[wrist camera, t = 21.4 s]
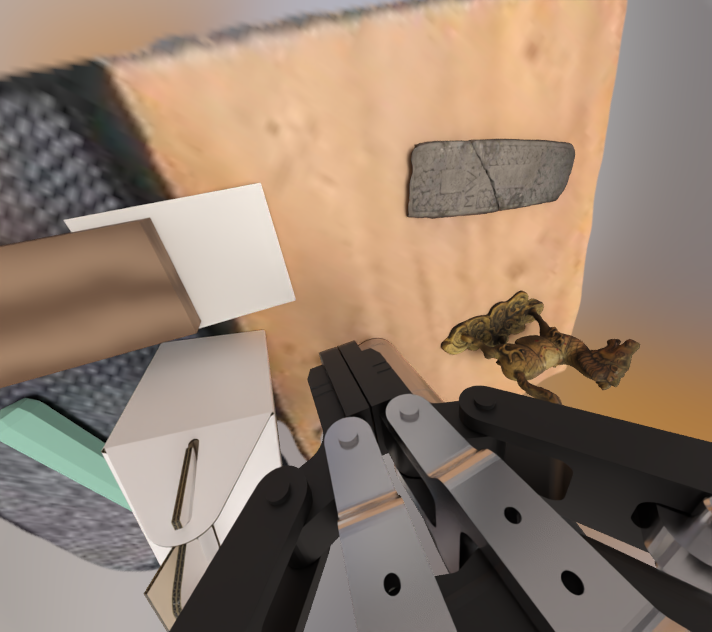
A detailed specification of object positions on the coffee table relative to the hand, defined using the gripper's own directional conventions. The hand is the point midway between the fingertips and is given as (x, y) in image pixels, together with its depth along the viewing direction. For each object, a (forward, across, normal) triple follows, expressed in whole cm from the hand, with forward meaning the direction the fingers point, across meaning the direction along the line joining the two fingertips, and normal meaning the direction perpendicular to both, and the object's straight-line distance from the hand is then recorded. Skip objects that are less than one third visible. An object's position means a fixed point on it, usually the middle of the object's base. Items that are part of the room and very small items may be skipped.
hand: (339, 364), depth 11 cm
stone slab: (+30, -34, -2) cm, 45 cm away
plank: (+25, +21, 0) cm, 33 cm away
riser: (+29, +9, 0) cm, 30 cm away
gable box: (+29, +14, +21) cm, 39 cm away
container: (+30, +32, +23) cm, 49 cm away
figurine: (+29, -37, +27) cm, 54 cm away
